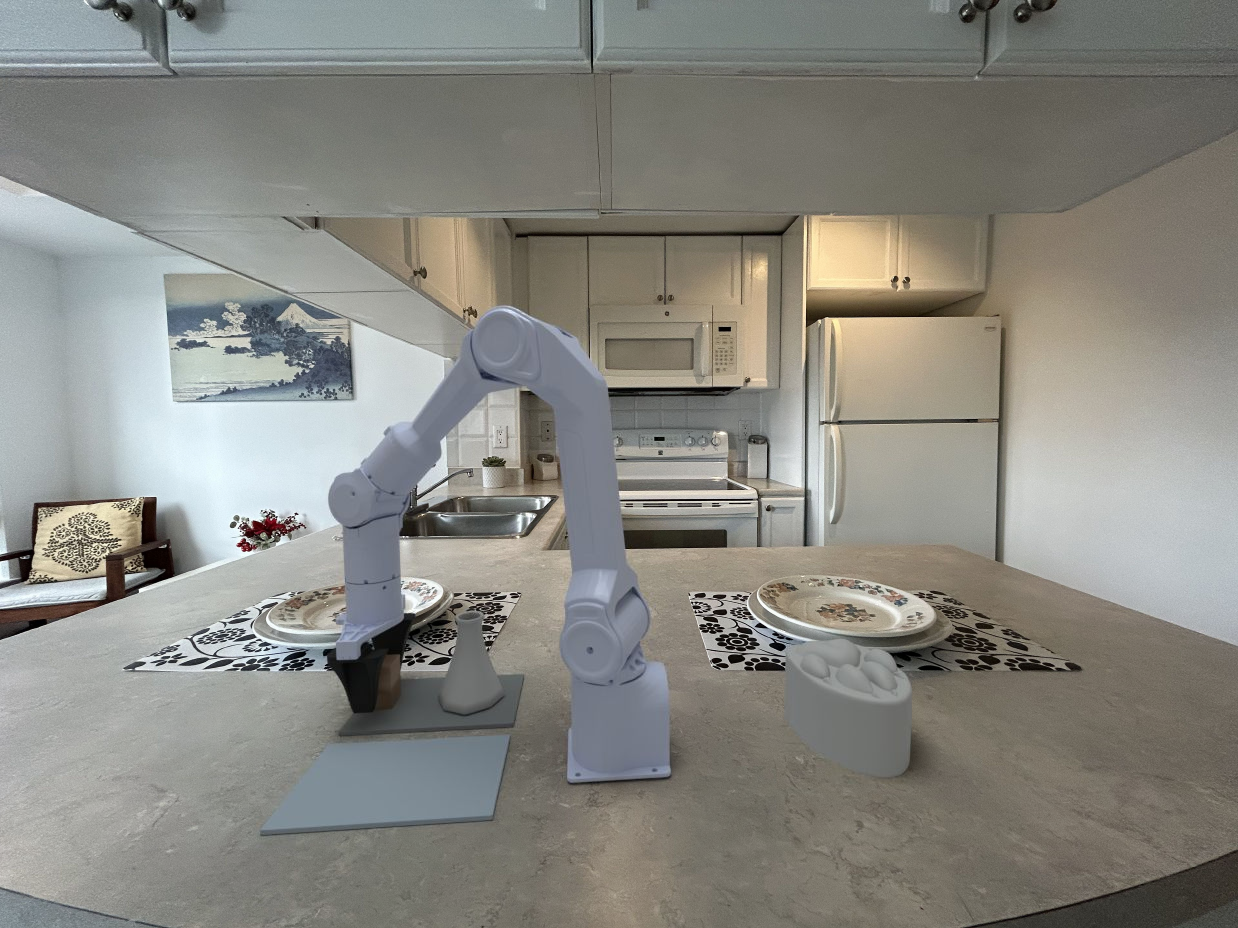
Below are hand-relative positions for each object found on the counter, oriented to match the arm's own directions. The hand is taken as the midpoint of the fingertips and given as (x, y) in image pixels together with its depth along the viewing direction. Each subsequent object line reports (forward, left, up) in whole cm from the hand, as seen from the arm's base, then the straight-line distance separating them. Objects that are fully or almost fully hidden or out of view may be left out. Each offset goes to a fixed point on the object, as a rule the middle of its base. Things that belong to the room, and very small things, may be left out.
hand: (377, 692), depth 58 cm
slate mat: (-7, +13, -2) cm, 15 cm away
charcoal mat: (-7, 0, -2) cm, 7 cm away
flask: (-11, 0, -1) cm, 11 cm away
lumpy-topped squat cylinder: (-51, +10, -2) cm, 52 cm away
